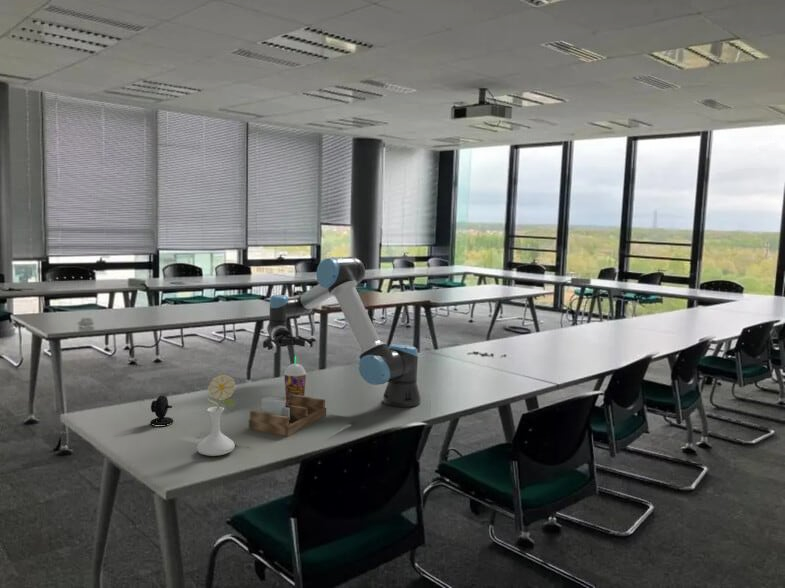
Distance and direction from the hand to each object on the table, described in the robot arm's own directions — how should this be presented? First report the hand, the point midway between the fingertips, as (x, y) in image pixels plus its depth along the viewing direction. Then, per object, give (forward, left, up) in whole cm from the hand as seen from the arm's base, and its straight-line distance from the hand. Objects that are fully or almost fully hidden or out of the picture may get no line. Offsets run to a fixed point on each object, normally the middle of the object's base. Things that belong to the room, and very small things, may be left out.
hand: (292, 349), depth 245 cm
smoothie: (-6, +7, -21) cm, 23 cm away
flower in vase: (-11, +57, -21) cm, 61 cm away
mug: (-14, +31, -20) cm, 39 cm away
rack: (-16, +26, -21) cm, 37 cm away
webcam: (+24, +45, -21) cm, 55 cm away
